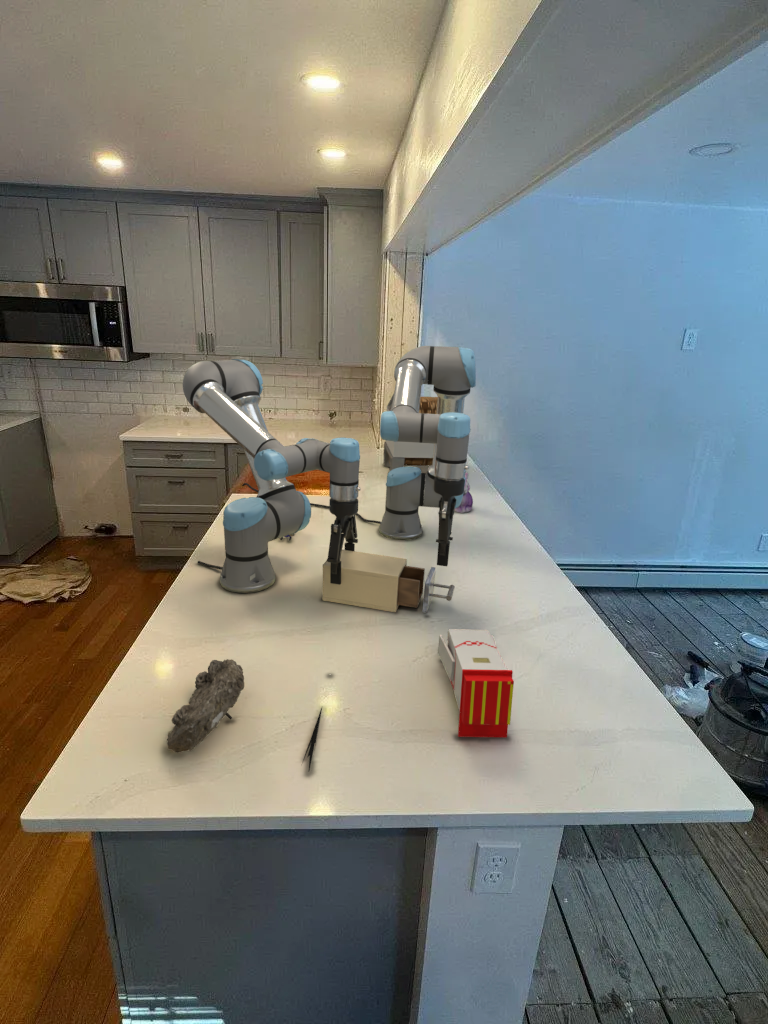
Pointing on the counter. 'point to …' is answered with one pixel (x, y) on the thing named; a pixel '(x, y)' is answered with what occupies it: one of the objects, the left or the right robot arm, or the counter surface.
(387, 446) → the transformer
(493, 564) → the counter surface
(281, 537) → the figurine character
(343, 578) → the cabinet
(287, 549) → the counter surface
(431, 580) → the drawer
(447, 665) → the toy
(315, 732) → the feather
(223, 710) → the fossil
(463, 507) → the figurine
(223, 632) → the counter surface
